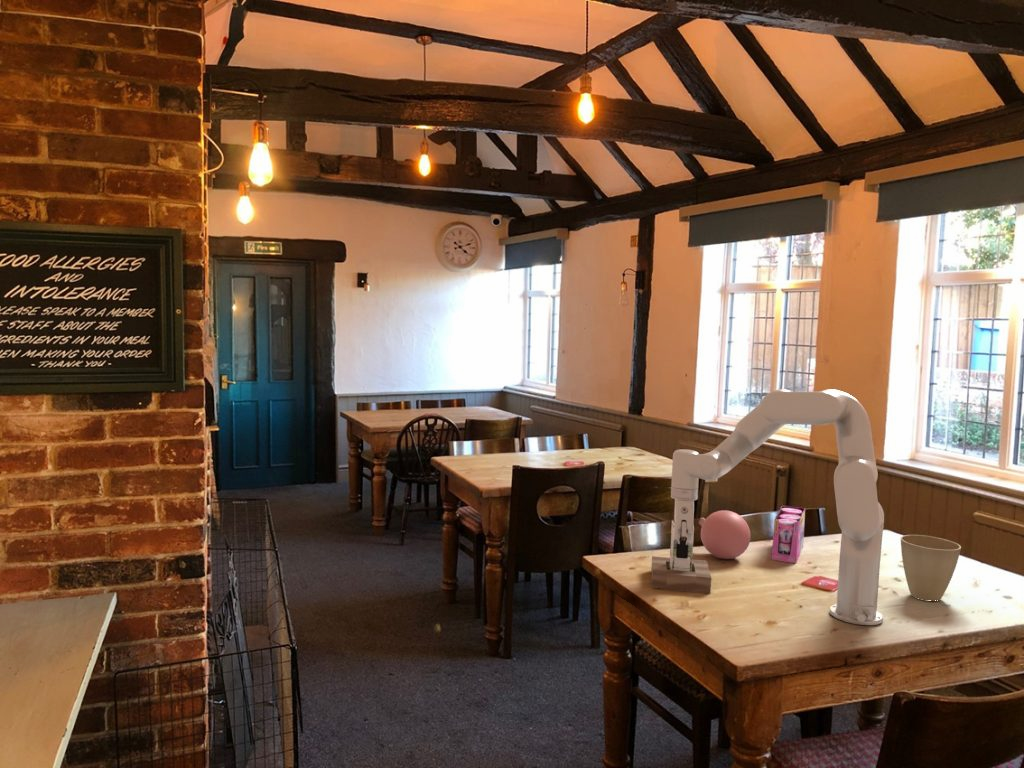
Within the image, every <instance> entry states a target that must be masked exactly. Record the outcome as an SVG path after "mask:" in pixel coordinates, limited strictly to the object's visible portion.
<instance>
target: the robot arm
mask: <svg viewBox="0 0 1024 768" xmlns="http://www.w3.org/2000/svg"><path fill="white" fill-rule="evenodd" d="M831 424H832V425H834V426H833V427H834V428H835V440H836V446H837V453H838V454H837V455H838V465H837V466H836V467H835V470H834V473H833V486H834V487H833V488H834V495H835V497H834V498H835V504H836V505H835V506H836V515H837V522H838V526H839V528H840V530H841V537H840V548H839V549H840V550H839V561H838V574H837V575H838V577H837V579H838V580H837V589H836V590H837V591H836V592H837V593H836V595H837V596H836V603H835V604H832V605H831V606H830V607H829V613H830V615H831V616H833V617H834V618H835V619H838V620H839V621H840V620H841V621H842V622H846V623H850V624H854V625H860V626H877V625H879V624H880V625H881V624H882V623H883V621H884V616H883V614H882V613H881V612H879V611H878V610H877V609H878V599H879V598H878V596H879V595H878V594H879V585H880V584H879V582H880V569H881V568H880V567H881V557H882V546H883V545H882V544H883V532H884V524H885V512H884V509H883V507H882V505H881V504H880V502H879V501H878V500H879V499H878V490H877V481H878V477H879V476H878V475H879V474H878V473H879V471H878V467H877V462H876V455H875V448H874V440H873V434H872V427H871V422H870V418H869V415H868V412H867V411H866V409H865V407H864V406H863V405H862V403H861V402H860V401H859V400H858V399H856V398H855V397H854V396H852V395H850V394H849V393H847V392H844V391H841V390H839V389H834V388H830V389H824V390H820V391H792V390H789V389H786V388H779V389H776V390H771V391H770V392H768V393H766V394H765V396H763V398H762V400H761V402H759V404H757V405H756V406H755V407H754V408H753V409H752V410H751V411H750V412H749V413H747V414H746V415H745V416H743V418H741V419H740V420H739V421H738V422H737V423H736V424H735V425H736V426H735V428H734V430H733V431H732V432H731V433H730V434H729V435H728V436H727V437H726V438H725V439H724V440H723V441H722V442H720V444H718V445H717V446H716V447H715V448H713V449H712V450H711V451H708V452H706V453H699V452H698V451H696V450H693V449H688V448H687V449H685V448H684V449H680V448H679V449H676V450H674V452H673V454H672V465H671V486H670V498H671V499H673V500H674V514H673V515H674V517H673V518H674V519H673V520H675V527H676V533H677V534H678V544H677V549H676V557H677V558H685V559H687V558H688V532H689V534H691V535H693V526H694V522H695V521H694V520H695V518H694V517H695V514H694V513H695V501H697V500H698V498H699V479H701V480H704V481H710V482H711V481H716V480H717V479H718V480H719V479H720V478H721V477H723V476H724V475H726V474H728V473H729V472H730V471H731V470H733V469H734V468H735V467H737V465H738V464H739V463H740V462H742V461H743V460H744V459H745V458H747V456H749V455H750V454H751V453H752V452H753V451H755V450H756V449H758V448H760V446H762V445H763V444H764V443H766V441H768V440H769V438H771V437H772V436H773V435H774V434H775V433H777V432H778V431H779V430H780V429H781V428H783V427H785V425H802V426H803V425H809V426H828V425H831ZM681 521H682V526H681ZM680 531H682V533H680ZM686 531H687V534H686ZM680 536H681V537H680Z"/></svg>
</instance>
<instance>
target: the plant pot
mask: <svg viewBox="0 0 1024 768" xmlns="http://www.w3.org/2000/svg"><path fill="white" fill-rule="evenodd" d="M900 549H901V551H900V552H901V559H902V566H903V570H904V576H905V579H906V580H905V581H906V584H907V587H908V591H909V593H910V596H911V595H912V596H914V597H916V598H919V599H923V600H931V601H935V600H936V601H937V600H940V599H941V600H942V598H943V596H944V595H945V592H946V591H947V588H948V587H949V584H950V582H951V580H952V578H953V575H954V573H955V570H956V567H957V565H958V561H959V557H960V554H961V550H962V546H961V545H960V544H959V543H957V542H955V541H951V540H948V539H945V538H940V537H936V536H931V535H923V534H907V535H906V534H905V535H902V536H900ZM912 596H911V597H912ZM914 597H913V598H914ZM916 598H915V599H916ZM919 599H918V600H919ZM941 600H940V601H941Z"/></svg>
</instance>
